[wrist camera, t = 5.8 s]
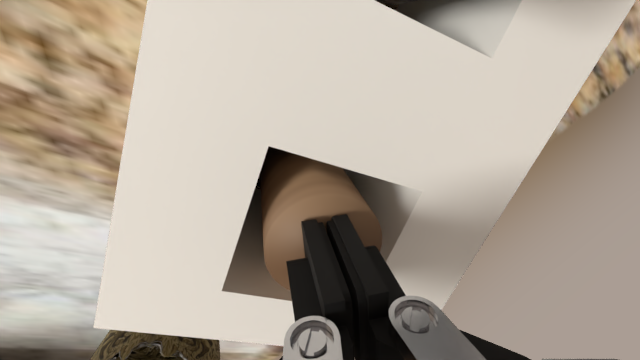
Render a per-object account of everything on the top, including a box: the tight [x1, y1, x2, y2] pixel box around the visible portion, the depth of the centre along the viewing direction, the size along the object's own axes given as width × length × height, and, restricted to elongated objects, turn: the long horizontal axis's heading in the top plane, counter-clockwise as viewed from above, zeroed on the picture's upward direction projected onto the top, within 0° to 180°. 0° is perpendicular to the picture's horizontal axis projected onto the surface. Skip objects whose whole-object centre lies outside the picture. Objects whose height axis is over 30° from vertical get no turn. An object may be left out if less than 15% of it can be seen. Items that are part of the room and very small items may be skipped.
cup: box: [90, 330, 220, 360], centre depth 20 cm, size 8×7×8 cm
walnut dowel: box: [260, 146, 382, 291], centre depth 16 cm, size 4×4×9 cm
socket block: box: [93, 0, 636, 346], centre depth 15 cm, size 22×14×10 cm, turn 159°
